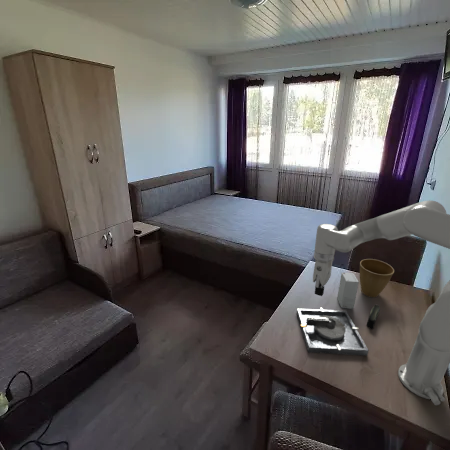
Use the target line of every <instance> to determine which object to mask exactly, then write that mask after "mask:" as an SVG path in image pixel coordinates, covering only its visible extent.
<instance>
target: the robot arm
mask: <svg viewBox="0 0 450 450" xmlns="http://www.w3.org/2000/svg"><path fill="white" fill-rule="evenodd" d="M411 235H412V236H415V237H416V238H419V239H422V240H424V241H427V242H429V243H431V244H435V245H438V246H441V247H443V248H446V249H448V250H450V214H448V213H447V210H446V208H445V207H444V205H443V204H442V203H440V202H438V201H435V200H431V199H429V200H423V201H419V202H417V203H413V204H410V205H407V206H405V207H402V208H400V209H397V210H396V209H395V210H393V211H391V212H388V213H384V214H381V215H379V216H376V217H374V218H369V219H367V220H364V221H361V222H358V223H355V224H352V225H349V226H347V227H345V228H343V229H342V230H339V228H338V227H337V226H336V225H334V224H330V223H322V224H319V225H318V226H317V228H316V235H315V244H314V251H313V258H314V260H315V261H314V267H313V274H312V282H313V283H315V284H314V287H315V288H314V295H317V296H320V297H323V295H324V292H325V286H326V285H327V283H328V281H329V280H330V279H331V276H332V269H333V262H334V261H335V254H336V251H338V252H340V253H348V252H351V251H353V250H354V249H355V248H356V247H358V246H359V245H361V244H364V243H365V242H370V241H373V240H377V239H385V240H387V241H394V240H398V239H400V238H405V237H407V236H411ZM449 365H450V279H449V280H448V281H447V282H446V284H445V285H443V288H442V290H441V292H440V294H439V296H438V297H437V299H436V301H435V302H434V303H432V304H431V305H429V306H428V308H427V309H426V311H425V314H424V315H423V318H422V319H421V322H420V323H419V327H418V334H417V336H416V339H415V342H414V344H413V346H412V349H411V352H410V355H409V357H408V360H407V361H406V363H405V364H401V365H400V366H399V368H398V371H397V375H398V378H399V380H400V382H401V383H402V385H404V387H405V388H407V390H409V391H410V392H412V393H413V394H415V395H416V396H418V397H421V398H423V399H426V400H430V399H431V400H430V401H431V402H432V404H434V405H435V406H440V405H441V402H445V400H446V398H445V397H444V396H443V394H444V386H443V385H442V383H441V382H442V381H443V379H444V376H445V374H446V372H447V370H448V367H449Z"/></svg>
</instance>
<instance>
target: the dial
mask: <svg viewBox="0 0 450 450" xmlns="http://www.w3.org/2000/svg"><path fill="white" fill-rule="evenodd" d="M306 324H307V326H314V329H315V331H316V332H317V333H318V334H319V335H320V336H322V337H323V338H325V339H328V340H333V341H336V340H341V339H342V338H343V337H344V335H345V331H346V329H345V326H344V325H343V323H342V322H341V321H339V320H338V319H336V318H334V317H331V316H319V317H310V316H307V320H306Z"/></svg>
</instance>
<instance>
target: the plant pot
mask: <svg viewBox="0 0 450 450" xmlns="http://www.w3.org/2000/svg"><path fill="white" fill-rule="evenodd" d="M394 274H395V269H394V268H393V267H392V266H391V264H388V263H387V262H384V261H382V260H379V259H375V258H374V259H373V258H366V259H362V260H361V261H360V262H359V283H360V289H361V292H362V294H363V295H365V296H366V297H369V298H377V297H378V296H379V295H380V294H381V293H382V292H383V291H384V289H385V288H386V286H387V285H388V284H389V282H390V280H391V278H392V276H393V275H394Z"/></svg>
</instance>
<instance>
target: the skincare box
mask: <svg viewBox="0 0 450 450" xmlns="http://www.w3.org/2000/svg"><path fill="white" fill-rule="evenodd" d="M359 283H360V280H358V278H357V277H356V275H355V273H352V272H341V273H340V279H339V287H338V291H337V297H336V298H337V301H338V304H339V306H340V308H341V309H342V308H343V309H350V310H354V307H355V303H356V298H357V297H356V296H357V293H358V288H359Z"/></svg>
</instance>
